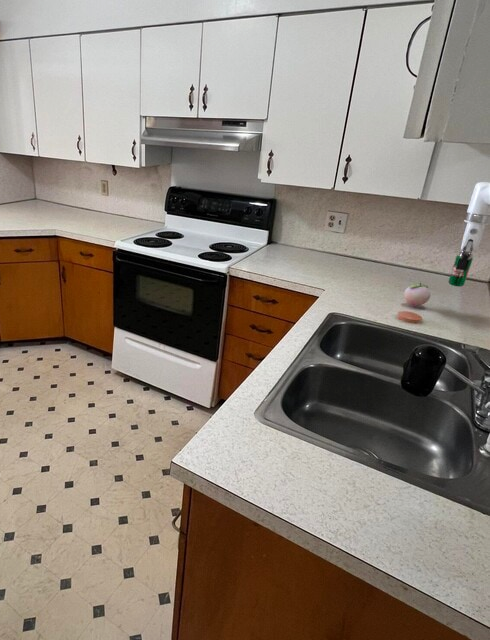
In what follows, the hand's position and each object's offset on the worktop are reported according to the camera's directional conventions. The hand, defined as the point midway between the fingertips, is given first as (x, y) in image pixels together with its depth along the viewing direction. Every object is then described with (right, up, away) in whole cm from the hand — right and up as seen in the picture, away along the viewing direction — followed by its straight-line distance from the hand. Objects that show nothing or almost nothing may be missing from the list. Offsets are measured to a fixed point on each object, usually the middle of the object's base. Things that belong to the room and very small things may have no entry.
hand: (461, 267), depth 157 cm
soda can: (0, -6, +3) cm, 7 cm away
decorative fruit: (-10, -15, +13) cm, 22 cm away
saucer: (-19, -19, +1) cm, 27 cm away
